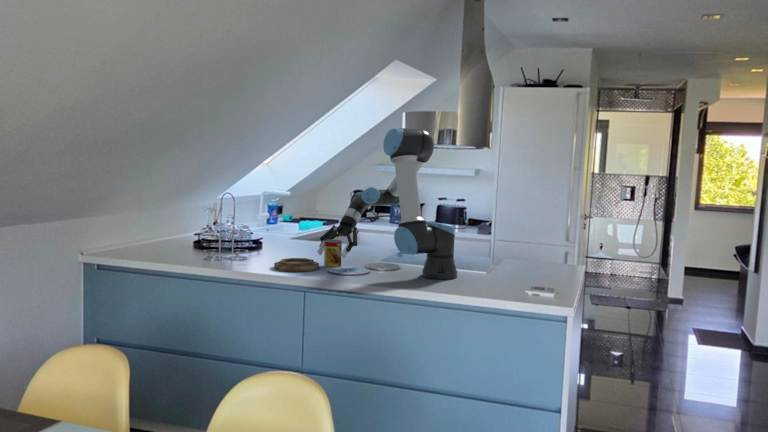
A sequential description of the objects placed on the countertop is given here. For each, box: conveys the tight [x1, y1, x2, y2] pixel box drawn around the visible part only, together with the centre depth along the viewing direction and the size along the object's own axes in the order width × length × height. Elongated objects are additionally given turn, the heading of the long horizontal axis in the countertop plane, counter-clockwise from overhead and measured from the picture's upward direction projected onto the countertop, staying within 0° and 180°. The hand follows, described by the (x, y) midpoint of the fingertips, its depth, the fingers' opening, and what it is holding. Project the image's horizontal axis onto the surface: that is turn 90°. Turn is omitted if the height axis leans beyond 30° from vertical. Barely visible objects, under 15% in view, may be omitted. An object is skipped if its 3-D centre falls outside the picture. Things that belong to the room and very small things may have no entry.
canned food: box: [323, 239, 343, 269], centre depth 288 cm, size 8×8×12 cm
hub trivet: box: [273, 257, 320, 273], centre depth 282 cm, size 20×20×3 cm
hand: (330, 255), depth 288 cm, fingers open, 13 cm apart
